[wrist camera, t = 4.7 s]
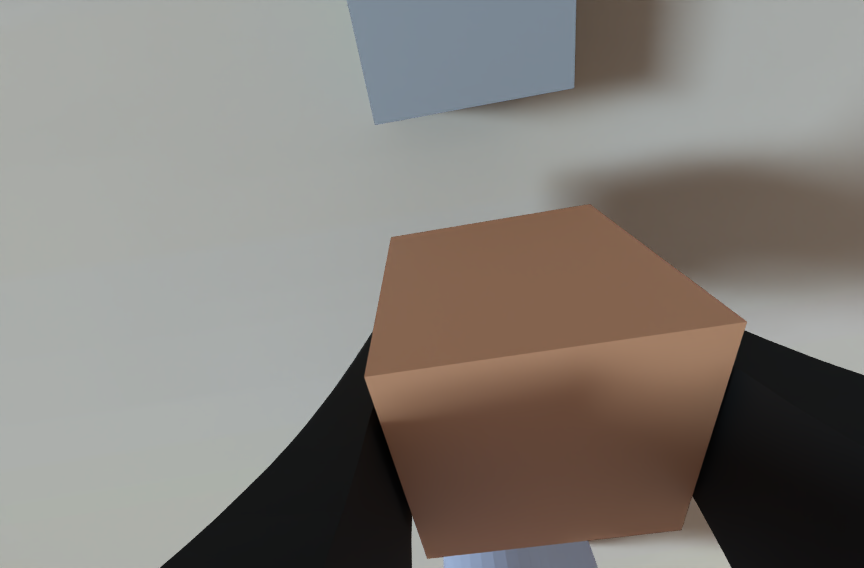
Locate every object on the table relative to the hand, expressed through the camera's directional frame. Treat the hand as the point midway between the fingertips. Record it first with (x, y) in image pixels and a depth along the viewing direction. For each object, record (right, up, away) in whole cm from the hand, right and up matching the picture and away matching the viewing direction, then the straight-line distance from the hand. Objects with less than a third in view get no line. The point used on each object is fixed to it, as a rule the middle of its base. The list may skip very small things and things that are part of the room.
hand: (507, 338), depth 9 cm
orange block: (0, +1, +1) cm, 2 cm away
